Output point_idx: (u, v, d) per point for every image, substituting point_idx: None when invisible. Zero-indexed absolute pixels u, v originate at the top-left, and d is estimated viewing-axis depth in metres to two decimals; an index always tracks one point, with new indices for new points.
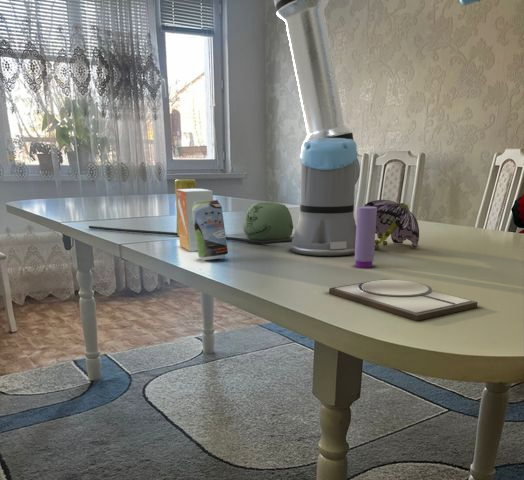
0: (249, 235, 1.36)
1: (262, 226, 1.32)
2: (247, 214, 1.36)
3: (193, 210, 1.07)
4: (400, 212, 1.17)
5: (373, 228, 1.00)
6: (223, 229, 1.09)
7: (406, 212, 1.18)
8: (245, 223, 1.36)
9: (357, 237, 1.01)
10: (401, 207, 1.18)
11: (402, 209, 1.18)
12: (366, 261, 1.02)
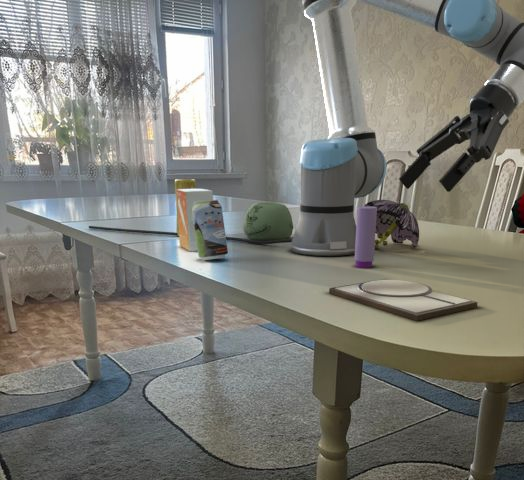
0: (249, 235, 1.36)
1: (262, 226, 1.32)
2: (247, 214, 1.36)
3: (193, 210, 1.07)
4: (400, 212, 1.17)
5: (373, 228, 1.00)
6: (223, 229, 1.09)
7: (406, 212, 1.18)
8: (245, 223, 1.36)
9: (357, 237, 1.01)
10: (401, 207, 1.18)
11: (402, 209, 1.18)
12: (366, 261, 1.02)
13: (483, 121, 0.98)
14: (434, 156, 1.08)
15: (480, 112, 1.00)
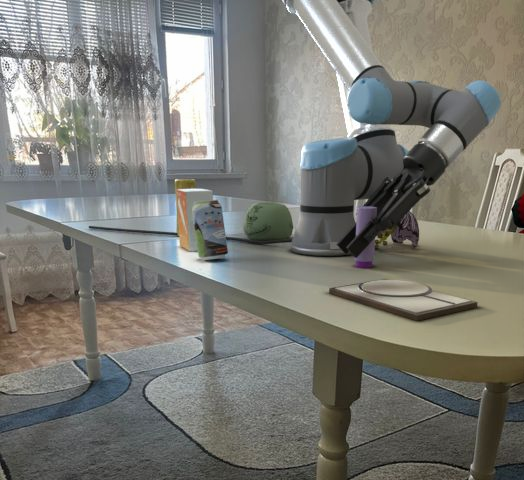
0: (249, 235, 1.36)
1: (262, 226, 1.32)
2: (247, 214, 1.36)
3: (193, 210, 1.07)
4: None
5: None
6: (223, 229, 1.09)
7: None
8: (245, 223, 1.36)
9: None
10: None
11: None
12: (366, 261, 1.02)
13: (411, 181, 0.98)
14: None
15: (412, 171, 1.00)
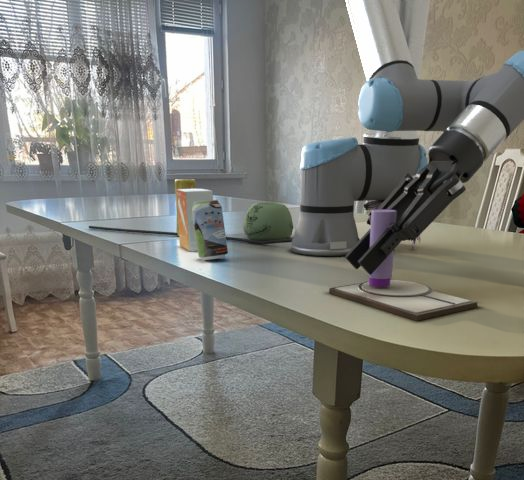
0: (249, 235, 1.36)
1: (262, 226, 1.32)
2: (247, 214, 1.36)
3: (193, 210, 1.07)
4: None
5: None
6: (223, 229, 1.09)
7: None
8: (245, 223, 1.36)
9: None
10: None
11: None
12: (383, 278, 0.81)
13: None
14: None
15: (440, 165, 0.79)
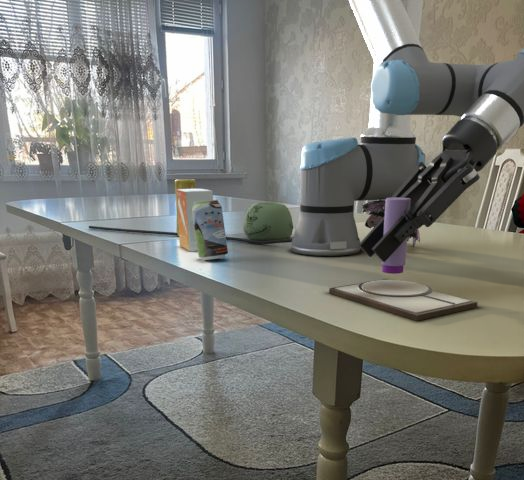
0: (249, 235, 1.36)
1: (262, 226, 1.32)
2: (247, 214, 1.36)
3: (193, 210, 1.07)
4: None
5: None
6: (223, 229, 1.09)
7: None
8: (245, 223, 1.36)
9: None
10: None
11: None
12: (396, 265, 0.82)
13: None
14: None
15: (454, 154, 0.80)
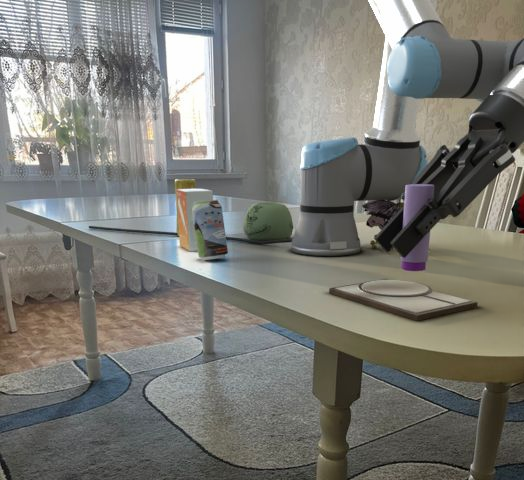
0: (249, 235, 1.36)
1: (262, 226, 1.32)
2: (247, 214, 1.36)
3: (193, 210, 1.07)
4: (391, 213, 1.17)
5: None
6: (223, 229, 1.09)
7: None
8: (245, 223, 1.36)
9: None
10: (394, 208, 1.18)
11: (395, 210, 1.17)
12: (418, 262, 0.72)
13: None
14: None
15: (483, 134, 0.70)
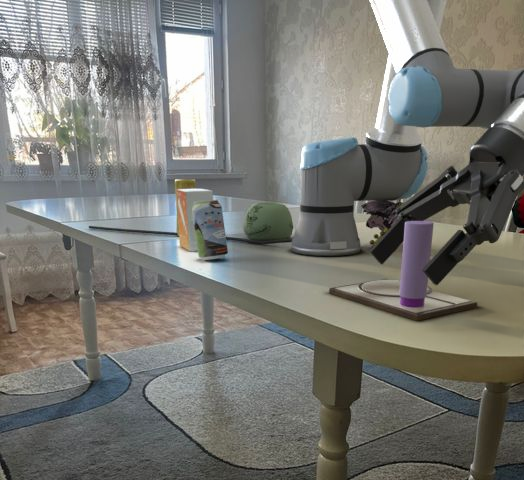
0: (249, 235, 1.36)
1: (262, 226, 1.32)
2: (247, 214, 1.36)
3: (193, 210, 1.07)
4: (390, 212, 1.17)
5: (428, 252, 0.70)
6: (223, 229, 1.09)
7: None
8: (245, 223, 1.36)
9: (404, 264, 0.72)
10: (393, 207, 1.18)
11: (393, 209, 1.18)
12: (417, 298, 0.72)
13: (488, 182, 0.68)
14: (419, 220, 0.78)
15: (484, 167, 0.70)
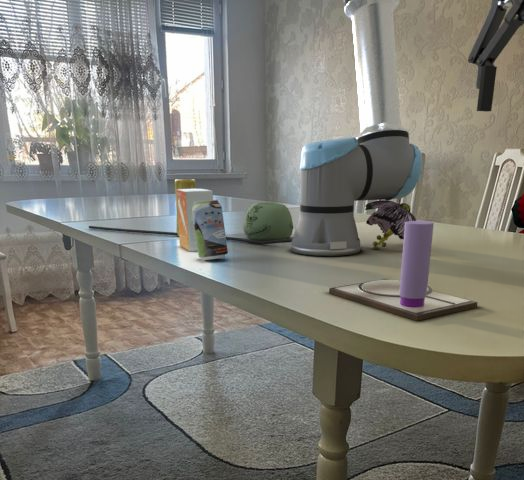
0: (249, 235, 1.36)
1: (262, 226, 1.32)
2: (247, 214, 1.36)
3: (193, 210, 1.07)
4: (397, 216, 1.16)
5: (428, 252, 0.70)
6: (223, 229, 1.09)
7: (404, 215, 1.17)
8: (245, 223, 1.36)
9: (404, 264, 0.72)
10: (399, 210, 1.17)
11: (400, 213, 1.17)
12: (417, 298, 0.72)
13: None
14: (497, 55, 0.85)
15: None
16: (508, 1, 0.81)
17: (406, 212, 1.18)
